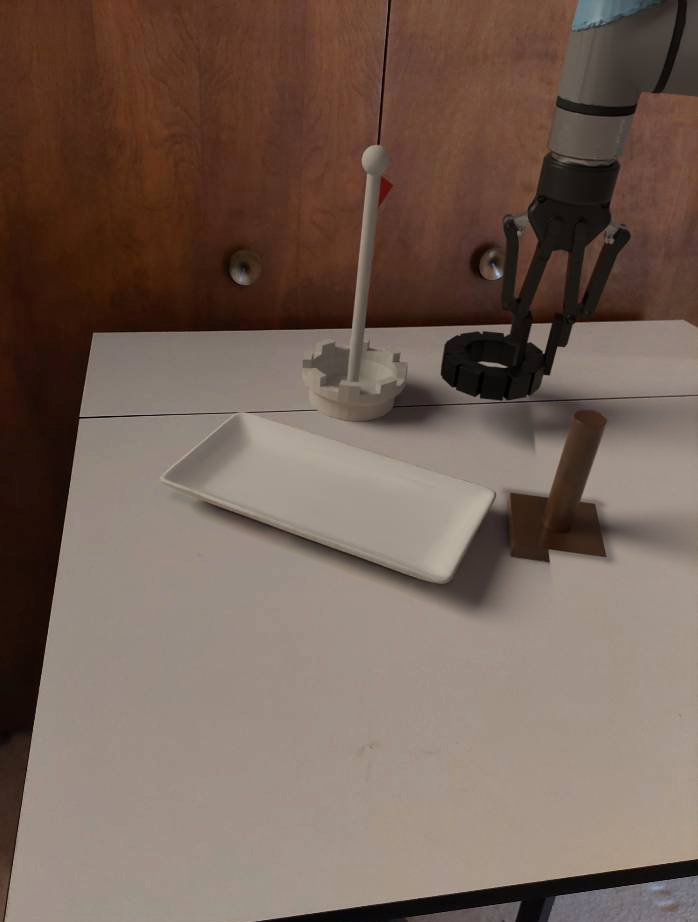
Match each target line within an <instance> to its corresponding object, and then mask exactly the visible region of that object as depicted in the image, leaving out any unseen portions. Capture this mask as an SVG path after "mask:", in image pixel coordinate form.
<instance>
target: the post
mask: <svg viewBox="0 0 698 922" xmlns="http://www.w3.org/2000/svg"><path fill="white" fill-rule="evenodd" d="M607 423H608V418H607V416H605V415H604V414H602V413H601V412H598V411H596V410H594V409H593V410H592V409H579V410H576V411H575V412H574V414H573V416H572V420H571V423H570V425H569V429H568V431H567V432H568V433H567V436H566V439H565V442H564V444H563V445H564V446H563V448H562V451H561V455H560V459H559V462H558V465H557V468H556V471H555V475H554V478H553V481H552V484H551V488H550V491H549V494H548V497H547V496H540V495H531V494H524V493H518V492H517V493H516V492H509V495H508V498H507V503H506V504H507V505H506V507H507V523H508V534H509V535H508V536H509V547H510V548H509V550H510V557H514V558H522V559H528V560H533V561H534V560H536V561H542V560H543V562H549V561H550V562H551V558H550V551H556V552H558V551H559V552H563V553H570V554H578V555H585V556H592V557H601V558H607V552H606V548H605V544H604V539H603V533H602V529H601V524H600V519H599V513H598V510H597V505H596V503H593V502H585V501H581V500H582V497H583V494H584V491H585V489H586V486H587V483H588V479H589V476H590V474H591V471H592V468H593V464H594V462H595V459H596V455H597V454H598V450H599V447H600V444H601V442H602V439H603V435H604V433H605V430H606V427H607Z"/></svg>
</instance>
